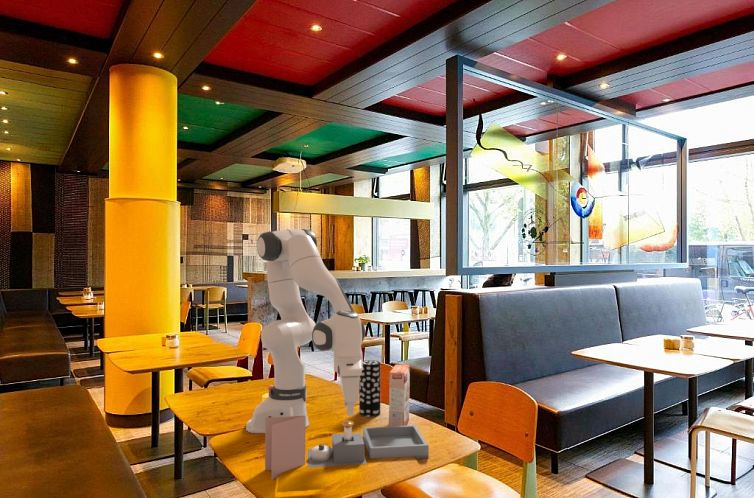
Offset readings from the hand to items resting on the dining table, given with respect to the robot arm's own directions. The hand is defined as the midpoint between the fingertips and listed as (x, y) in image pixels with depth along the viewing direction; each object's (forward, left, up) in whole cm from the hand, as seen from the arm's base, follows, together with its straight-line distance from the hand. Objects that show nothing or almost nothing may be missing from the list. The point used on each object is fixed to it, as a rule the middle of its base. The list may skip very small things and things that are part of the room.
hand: (348, 410), depth 146 cm
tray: (+15, +6, -15) cm, 22 cm away
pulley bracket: (-4, 0, -15) cm, 15 cm away
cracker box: (+21, +27, -15) cm, 38 cm away
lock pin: (0, 0, -14) cm, 14 cm away
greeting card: (-19, -7, -15) cm, 25 cm away
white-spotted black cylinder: (+12, +42, -15) cm, 47 cm away
